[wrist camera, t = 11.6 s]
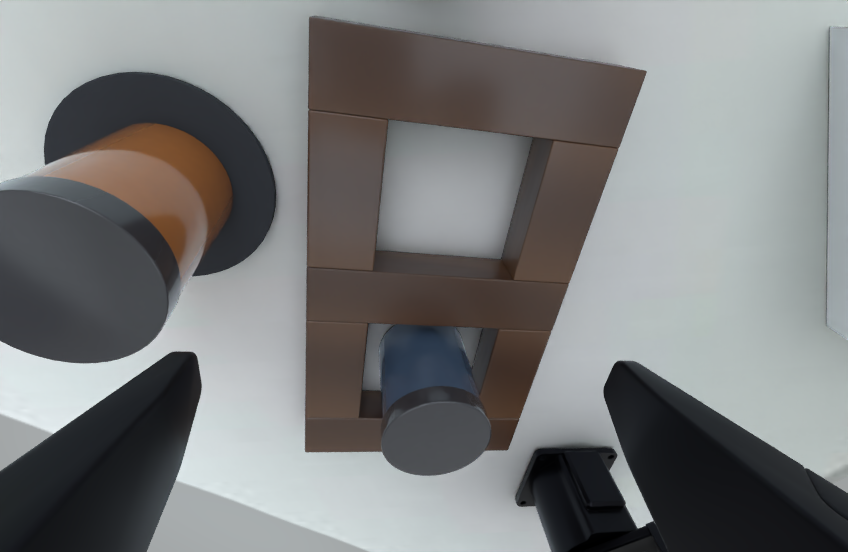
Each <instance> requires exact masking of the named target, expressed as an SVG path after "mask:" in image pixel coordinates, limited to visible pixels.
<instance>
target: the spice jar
mask: <svg viewBox="0 0 848 552" xmlns="http://www.w3.org/2000/svg"><path fill="white" fill-rule="evenodd" d="M379 369H380V390H381V410H382V421H381V427H380V434H381V448H382V452H383V455H384V456H385V458H386V459H387V461H388V462H389V463H390V464H391V465H393V466H394V467H395V468H397V469H399V470H401V471H403V472H406V473H410V474H414V475H422V476H431V475H441V474H446V473H450V472H453V471H456V470H459V469H461V468H463V467H465V466H467V465H469V464H470V463H472V462H473V461H475V460H476V459H477V458H478V457H479V456H480V455H481V454H482V453H483V452H484V451H485V449H486V448H487V446H488V444H489V442H490V438H491V425H490V422H489V418H488V415H487V412H486V409H485V407H484V405H483V403H482V402H481V399H480V396H479V393H478V389H477V386H476V383H475V380H474V376H473V373H472V370H471V366H470V363H469V360H468V357H467V353H466V350H465V347H464V344H463V340H462V337H461V335H460V333H459V331H458V330H457V329H456V328H455V327H450V326H427V325H403V324H396V325H394V326H393V327H392V328H390V329H389V330H388V331H387V333H386V334H385V335H384V337H383V338H382V340H381V343H380V346H379Z"/></svg>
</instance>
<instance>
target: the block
mask: <svg viewBox="0 0 848 552" xmlns="http://www.w3.org/2000/svg"><path fill="white" fill-rule="evenodd" d="M827 327H829V328H830V329H832V330H833V331H835V332H836V333H838V334H839V335H841V336H842V337H844V338H845V339H847V340H848V27H831V26H830V63H829V154H828V246H827Z"/></svg>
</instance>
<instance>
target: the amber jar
mask: <svg viewBox="0 0 848 552" xmlns="http://www.w3.org/2000/svg"><path fill="white" fill-rule="evenodd" d="M232 205H233V192H232V186H231V182H230V179H229V177H228V174H227V172H226V170H225V168H224V167H223V165H222V163H221V162H220V161H219V159H218V158H217V157H216V155H215V154H214V153H213V152H212V151H211V150H210V149H209V148H208V147H207V146H205V145H204V144H203V143H202V142H200V141H199V140H198V139H196V138H195V137H193V136H191V135H189V134H188V133H186V132H184V131H181V130H179V129H176V128H173V127H170V126H167V125H162V124H155V123H140V124H134V125H129V126H126V127H124V128H121V129H119V130H117V131H115V132H113V133H111V134H108V135H106V136H104V137H102V138H100V139H98V140H96V141H94V142H92V143H90V144H88V145H86V146H84V147H82V148H80V149H78V150H76V151H74V152H72V153H70V154H67V155H65V156H63V157H61V158H59V159H57V160H55V161H53V162H51V163H49V164H47V165H45V166H43V167H41V168H39V169H37V170H35V171H33V172H31V173H29V174H27V175H24V176H22V177H20V178H16V179H11V180H7V181H4V182H1V183H0V341H2V342H4V343H6V344H8V345H10V346H12V347H14V348H16V349H19V350H21V351H24V352H26V353H30V354H33V355H36V356H39V357H43V358H47V359H51V360H56V361H63V362H71V363H99V362H108V361H112V360H117V359H121V358H123V357H126V356H129V355H131V354H133V353H135V352H137V351H139V350H141V349H143V348H144V347H145V346H147V345H148V344H150V343H151V342H152V341H153V340H154V339H155V338H156V337H157V335H158V334H159V333H160V331H161V330H162V328H163V327H164V325H165V323H166V322H167V320H168V319H169V317H170V315H171V314H172V312H173V311H174V309H175V307H176V305H177V303H178V299H179V296H180V294H181V292H182V290H183V289H184V287H185V286H186V284H187V283H188V281H189V279H190V278H191V276H192V275H193V273H194V272H195V270H196V269H197V267H198V265H199V264H200V262H201V261H202V259H203V258H204V256H205V255H206V253H207V251H208V250H209V248H210V247H211V245H212V244H213V242H214V241H215V239H216V237H217V236H218V234H219V233H220V231H221V230H222V228H223V227H224V225H225V223H226V222H227V220H228V218H229V216H230V213H231V210H232Z"/></svg>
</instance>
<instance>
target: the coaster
mask: <svg viewBox="0 0 848 552" xmlns="http://www.w3.org/2000/svg"><path fill="white" fill-rule="evenodd" d="M140 123H155V124H162V125H167V126H170V127H173V128H176V129H179V130H181V131H184V132H186V133H188V134H189V135H191V136H193V137H195V138H196V139H198V140H199V141H200V142H202V143H203V144H204V145H205V146H207V147H208V148H209V149H210V150H211V151H212V152H213V153H214V154H215V155H216V157H217V158H218V159H219V161H220V162H221V163H222V165H223V167H224V168H225V170H226V172H227V174H228V177H229V179H230V182H231V186H232V192H233V205H232V210H231V213H230V216H229V218H228V220H227V222H226V223H225V225H224V227H223V228H222V230H221V231H220V233H219V234H218V236H217V237H216V239H215V241H214V242H213V244H212V245H211V247H210V248H209V250H208V251H207V253H206V255H205V256H204V258H203V259H202V261H201V262H200V264H199V265H198V267H197V269H196V270H195V272H194V273H193V275H192V276H200V275H208V274H212V273H217V272H220V271H223V270H225V269H228V268H230V267H232V266H234V265H236V264H238V263H240V262H241V261H243V260H244V259H246V258H247V257H248V256H249V255H251V254H252V253H253V252H254V251H255V250H256V249H257V248H258V246H259V245H260V244H261V242H262V241H263V240H264V238H265V236H266V234H267V232H268V230H269V228H270V225H271V223H272V220H273V217H274V211H275V206H276V189H275V181H274V177H273V172H272V169H271V166H270V163H269V161H268V158H267V156H266V154H265V152H264V150H263V148H262V146H261V144H260V143H259V141H258V140H257V138H256V137H255V135H254V134H253V132H252V131H251V130H250V129H249V127H248V126H247V125H246V124H245V123H244V122H243V121H242V119H241V118H240V117H239V116H237V115H236V114H235V113H234V112H233V111H232V110H231V109H230V108H229V107H227V106H226V105H225V104H223V103H222V102H221V101H219V100H218V99H217V98H215V97H214V96H212V95H210V94H209V93H207V92H205V91H204V90H202V89H200V88H198V87H196V86H193V85H191V84H189V83H187V82H184V81H181V80H178V79H175V78H172V77H169V76H164V75H159V74H154V73H144V72H126V73H117V74H112V75H108V76H103V77H99V78H97V79H94V80H92V81H89V82H87V83H85V84H83V85H81V86H80V87H78V88H76V89H75V90H73V91H72V92H71V93H70V94H69V95H68V96H67V97H65V98H64V99H63V100H62V102H61V103H60V104H59V106H58V107H57V108H56V110H55V111H54V113H53V115H52V117H51V119H50V121H49V124H48V128H47V131H46V135H45V143H44V157H45V165H47V164H49V163H51V162H53V161H55V160H57V159H59V158H61V157H63V156H65V155H67V154H70V153H72V152H74V151H76V150H78V149H80V148H82V147H84V146H86V145H88V144H90V143H92V142H94V141H96V140H98V139H100V138H102V137H104V136H106V135H108V134H111V133H113V132H115V131H117V130H119V129H121V128H124V127H126V126H129V125H134V124H140Z"/></svg>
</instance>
